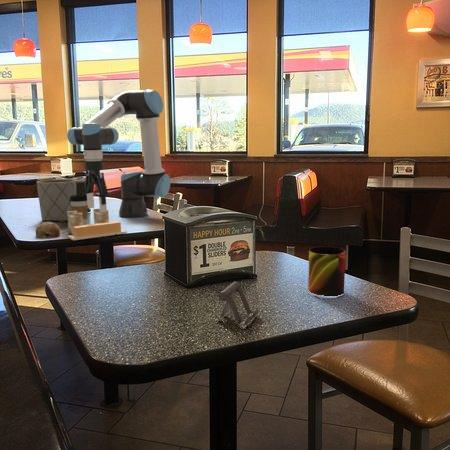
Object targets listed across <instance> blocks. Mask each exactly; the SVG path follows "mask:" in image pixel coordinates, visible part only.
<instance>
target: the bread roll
mask: <svg viewBox="0 0 450 450" xmlns="http://www.w3.org/2000/svg"><path fill="white" fill-rule="evenodd" d="M60 233H61V230H60V226H59V225H57V224H56V223H55V222H52V221H43V222H42V223H40V224H38V225H37V226H36V228H35V236H36V237H38V238H41V239H48V238H55V237H59V236H60ZM47 237H48V238H47Z"/></svg>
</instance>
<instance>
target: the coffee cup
mask: <svg viewBox="0 0 450 450" xmlns="http://www.w3.org/2000/svg"><path fill="white" fill-rule="evenodd" d="M70 201H71V209H72V211H77V213H82V216H83V225H88V209H89V208H88V203H87V193H86V194H76V195H72V196H70Z"/></svg>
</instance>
